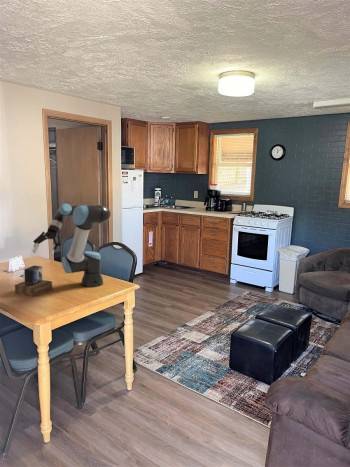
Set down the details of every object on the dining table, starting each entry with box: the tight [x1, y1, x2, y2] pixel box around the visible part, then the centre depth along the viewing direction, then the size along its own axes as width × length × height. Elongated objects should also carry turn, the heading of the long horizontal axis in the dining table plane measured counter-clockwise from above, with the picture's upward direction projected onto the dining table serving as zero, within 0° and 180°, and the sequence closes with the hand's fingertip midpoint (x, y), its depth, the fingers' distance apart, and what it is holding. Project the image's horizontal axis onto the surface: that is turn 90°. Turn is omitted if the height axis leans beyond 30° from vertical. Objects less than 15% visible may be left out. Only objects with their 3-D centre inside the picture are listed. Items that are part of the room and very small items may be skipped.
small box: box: [23, 265, 43, 285], centre depth 223 cm, size 11×6×10 cm, turn 168°
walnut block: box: [14, 279, 53, 297], centre depth 224 cm, size 16×16×6 cm
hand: (42, 252), depth 230 cm, fingers open, 13 cm apart
